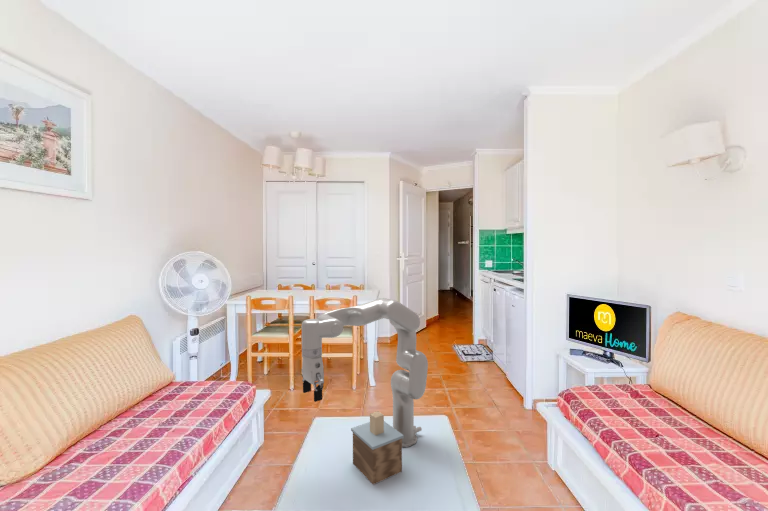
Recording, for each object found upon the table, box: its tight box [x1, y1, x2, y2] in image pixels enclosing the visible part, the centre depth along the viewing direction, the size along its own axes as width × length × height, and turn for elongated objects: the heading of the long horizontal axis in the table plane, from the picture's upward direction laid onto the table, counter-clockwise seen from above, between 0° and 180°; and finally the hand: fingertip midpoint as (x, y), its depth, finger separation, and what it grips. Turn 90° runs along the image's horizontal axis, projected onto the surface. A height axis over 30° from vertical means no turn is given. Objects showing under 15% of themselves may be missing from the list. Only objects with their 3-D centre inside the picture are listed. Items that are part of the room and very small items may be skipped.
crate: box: [352, 432, 403, 486], centre depth 138 cm, size 13×15×14 cm
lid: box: [350, 411, 404, 450], centre depth 137 cm, size 14×16×9 cm
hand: (312, 396), depth 132 cm, fingers open, 9 cm apart
